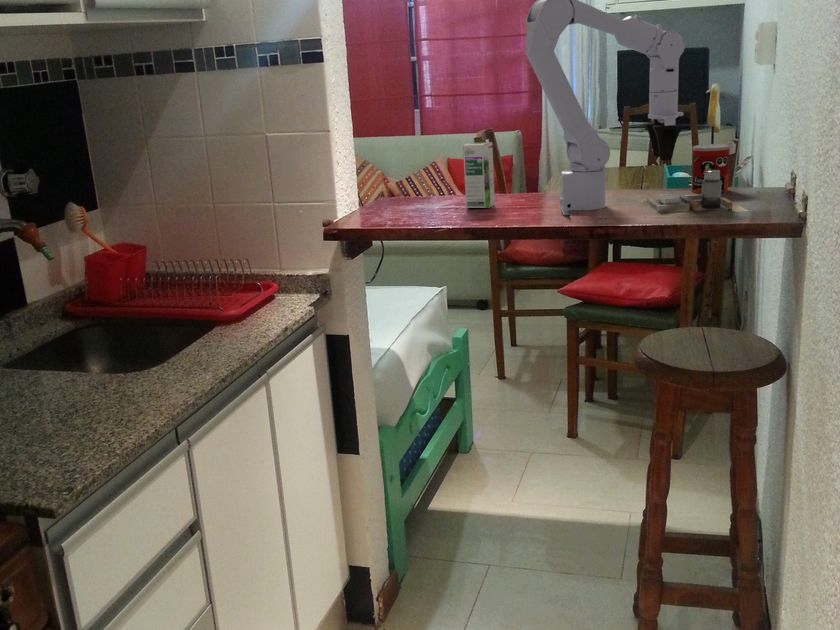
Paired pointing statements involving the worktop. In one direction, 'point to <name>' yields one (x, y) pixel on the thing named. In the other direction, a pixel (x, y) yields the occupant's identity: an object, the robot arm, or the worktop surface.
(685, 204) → the socket board
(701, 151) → the canned food
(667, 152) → the robot arm
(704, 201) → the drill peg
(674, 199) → the gray rectangular block
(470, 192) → the syrup box
